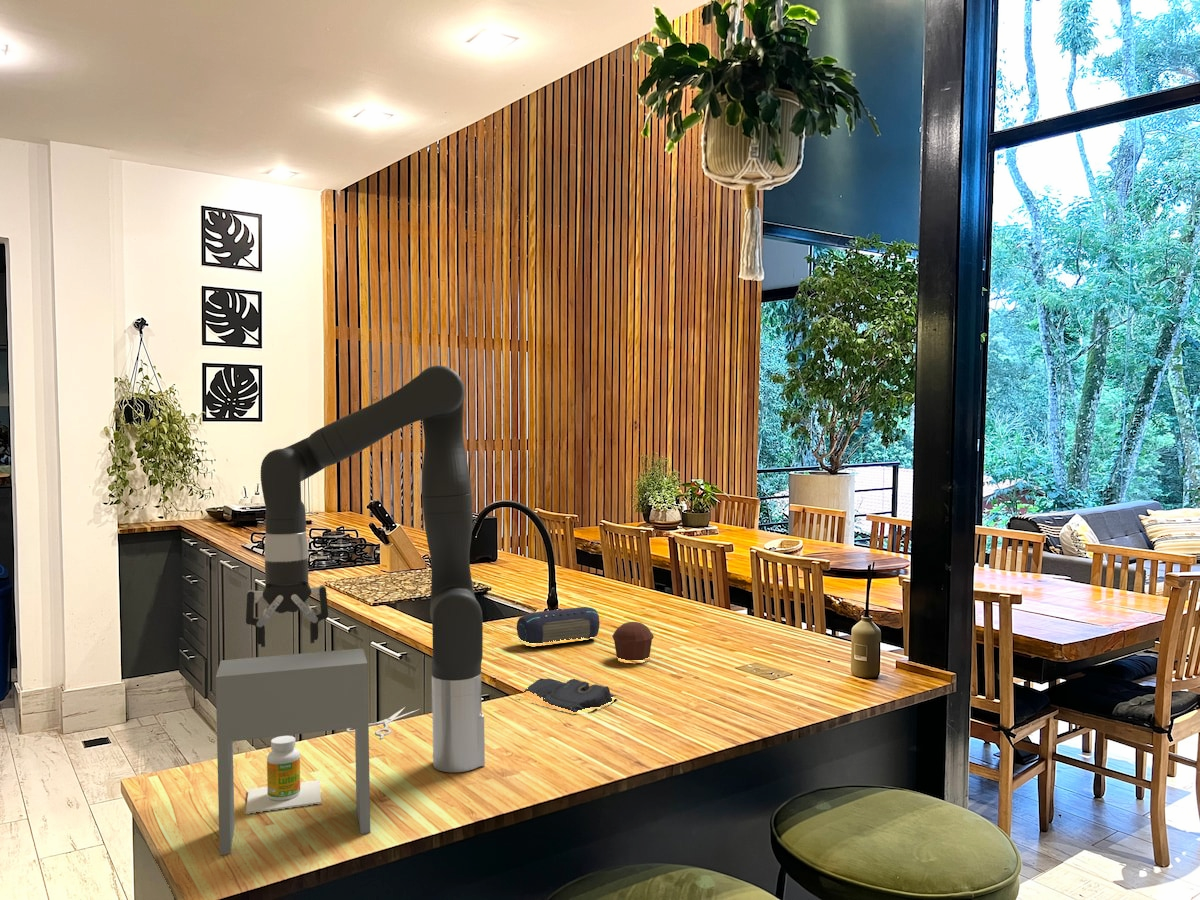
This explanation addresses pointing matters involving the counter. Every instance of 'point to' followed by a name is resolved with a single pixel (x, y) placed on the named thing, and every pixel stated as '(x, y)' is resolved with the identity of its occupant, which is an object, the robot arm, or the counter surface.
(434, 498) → the robot arm
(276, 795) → the supplement bottle
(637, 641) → the muffin
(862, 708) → the counter surface
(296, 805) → the white flat rectangular board
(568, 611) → the portable speaker
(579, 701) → the crumpled dark grey cloth
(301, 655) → the grey rectangular arch
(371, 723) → the scissors
